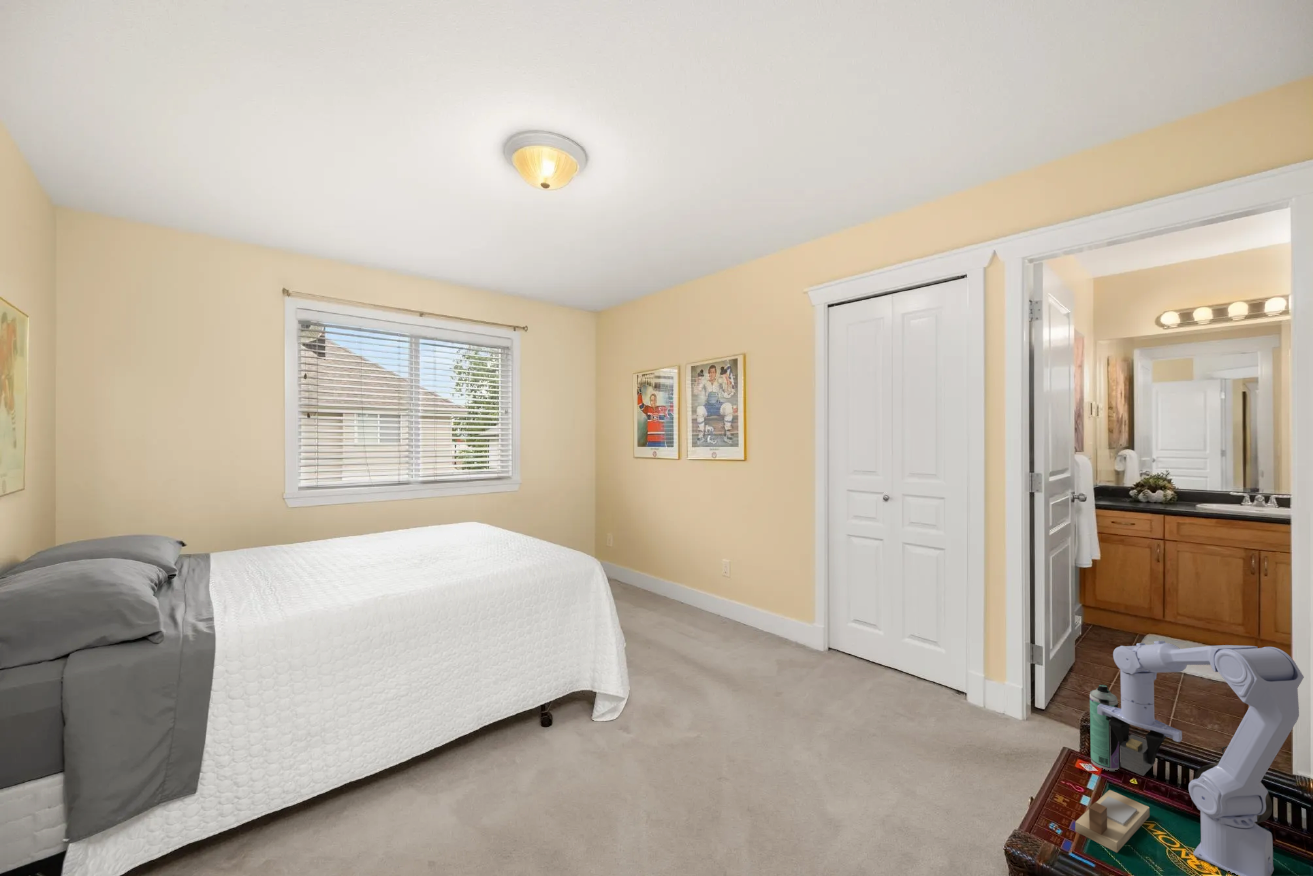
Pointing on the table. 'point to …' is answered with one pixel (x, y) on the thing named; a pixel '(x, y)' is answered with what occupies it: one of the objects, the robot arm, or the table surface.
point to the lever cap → (1135, 755)
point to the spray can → (1103, 731)
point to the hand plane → (1112, 820)
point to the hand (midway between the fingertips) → (1138, 757)
